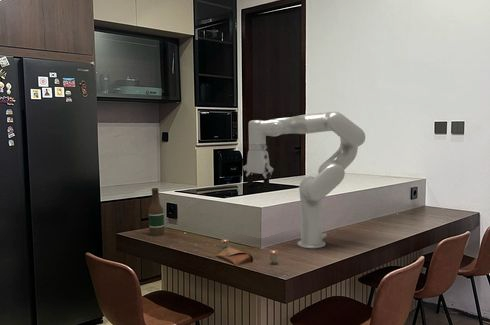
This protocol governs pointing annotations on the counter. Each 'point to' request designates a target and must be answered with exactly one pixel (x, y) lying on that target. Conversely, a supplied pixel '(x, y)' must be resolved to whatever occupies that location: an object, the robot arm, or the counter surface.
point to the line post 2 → (273, 257)
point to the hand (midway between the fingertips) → (258, 185)
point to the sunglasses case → (235, 256)
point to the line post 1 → (224, 243)
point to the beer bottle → (156, 215)
